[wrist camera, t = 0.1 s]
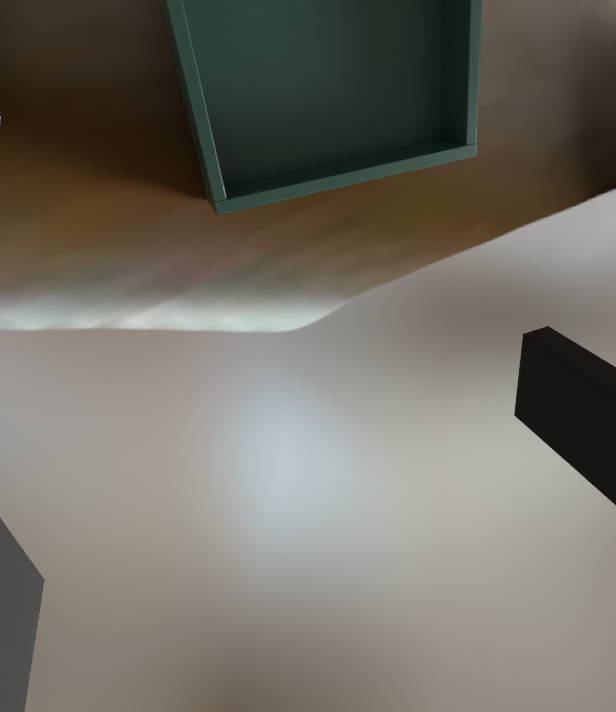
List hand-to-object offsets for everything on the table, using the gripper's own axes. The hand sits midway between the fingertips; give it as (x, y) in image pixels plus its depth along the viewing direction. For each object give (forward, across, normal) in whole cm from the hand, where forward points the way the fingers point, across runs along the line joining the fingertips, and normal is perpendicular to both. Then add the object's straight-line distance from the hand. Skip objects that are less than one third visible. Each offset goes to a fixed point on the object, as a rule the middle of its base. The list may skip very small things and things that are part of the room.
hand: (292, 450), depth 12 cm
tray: (+25, +10, +10) cm, 29 cm away
